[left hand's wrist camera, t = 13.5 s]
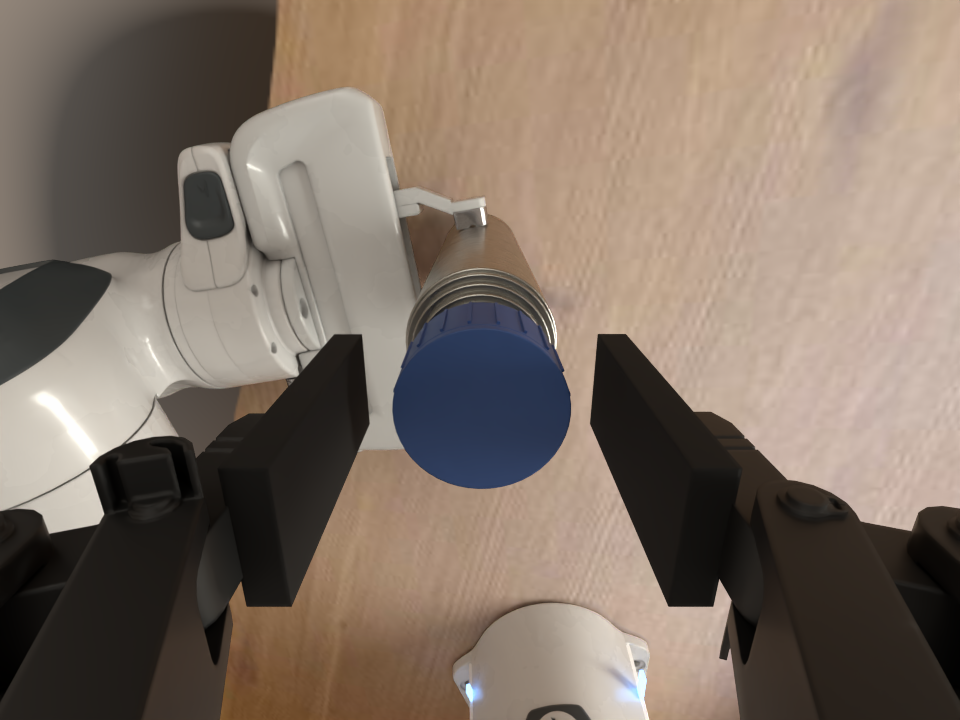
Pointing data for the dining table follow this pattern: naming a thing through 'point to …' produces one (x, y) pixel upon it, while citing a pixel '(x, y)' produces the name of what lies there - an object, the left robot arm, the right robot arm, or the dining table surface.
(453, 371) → the cap
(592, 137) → the dining table surface
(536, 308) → the bottle
